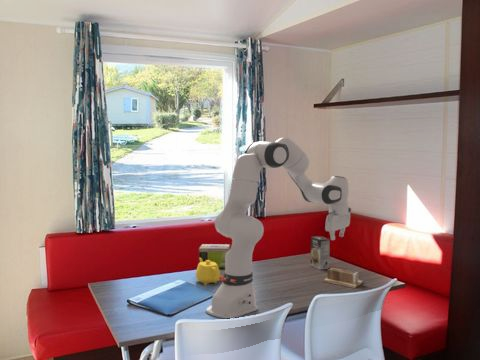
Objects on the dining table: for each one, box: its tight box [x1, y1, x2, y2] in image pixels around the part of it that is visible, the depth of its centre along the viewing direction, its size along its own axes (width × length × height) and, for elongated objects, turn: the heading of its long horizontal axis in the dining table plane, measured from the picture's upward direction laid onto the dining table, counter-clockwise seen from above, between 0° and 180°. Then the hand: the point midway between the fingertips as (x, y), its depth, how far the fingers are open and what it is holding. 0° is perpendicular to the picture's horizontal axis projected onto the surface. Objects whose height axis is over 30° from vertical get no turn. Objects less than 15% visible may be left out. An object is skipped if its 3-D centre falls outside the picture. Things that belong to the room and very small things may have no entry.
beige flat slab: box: [323, 277, 364, 289], centre depth 231 cm, size 10×16×1 cm, turn 54°
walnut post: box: [326, 267, 359, 284], centre depth 231 cm, size 4×4×14 cm
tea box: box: [198, 243, 231, 276], centre depth 244 cm, size 15×10×15 cm, turn 84°
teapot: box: [195, 256, 220, 286], centre depth 231 cm, size 18×11×11 cm, turn 29°
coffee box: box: [310, 235, 331, 270], centre depth 256 cm, size 9×6×16 cm
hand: (337, 238), depth 228 cm, fingers open, 8 cm apart
